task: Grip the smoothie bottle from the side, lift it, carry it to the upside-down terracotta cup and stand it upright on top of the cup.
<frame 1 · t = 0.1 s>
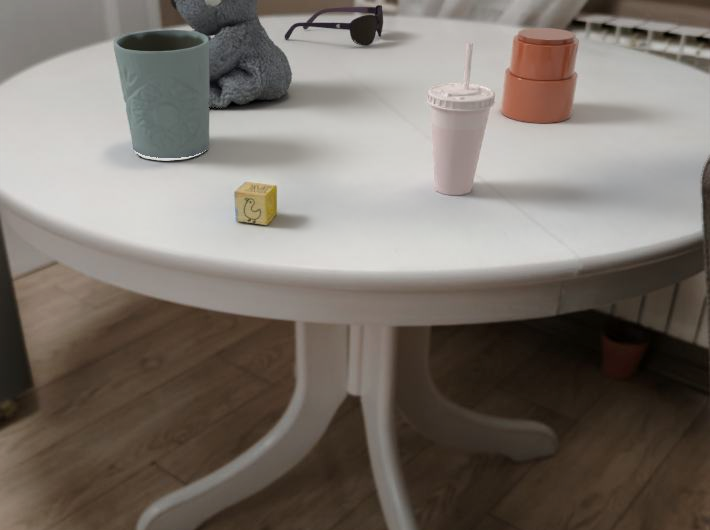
sunglasses: (334, 39, 139), on the table
alphabet block: (257, 220, 75), on the table
smoothie: (452, 190, 81), on the table
green embossed cup: (173, 151, 92), on the table
koala plush: (228, 96, 110), on the table
upturned cup: (535, 112, 103), on the table
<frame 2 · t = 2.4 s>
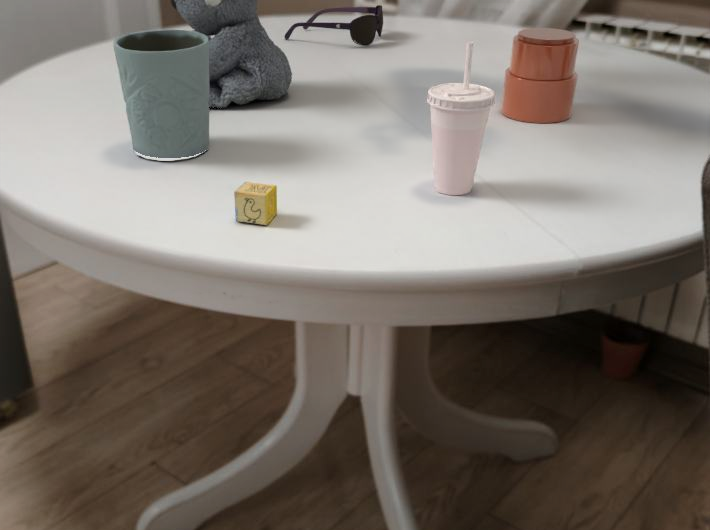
nothing on the table moved.
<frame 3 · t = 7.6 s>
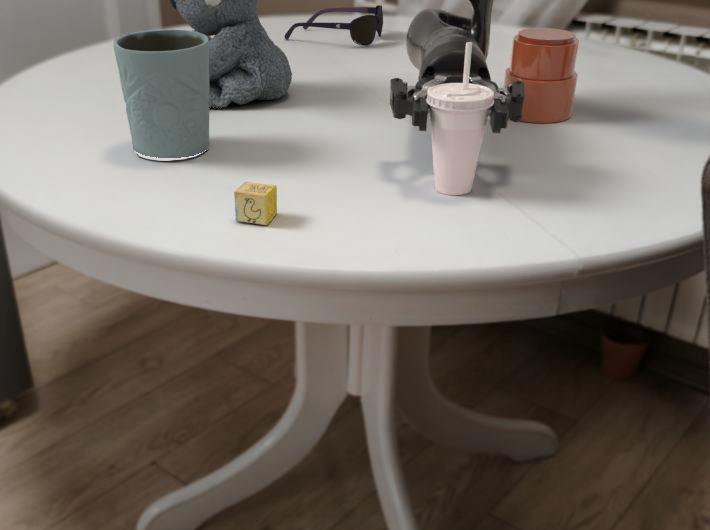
hand: (460, 121, 75), 8 cm above the table, tool horizontal, fingers closed on smoothie, 6 cm apart
smoothie: (452, 190, 81), on the table, touching gripper
everything else where it was.
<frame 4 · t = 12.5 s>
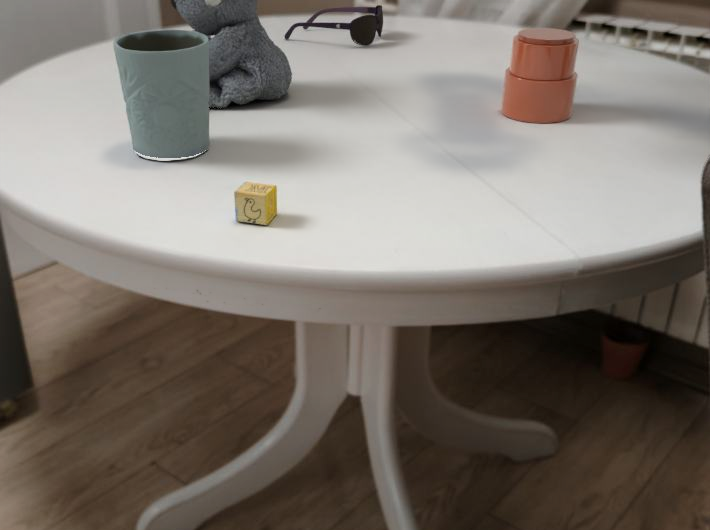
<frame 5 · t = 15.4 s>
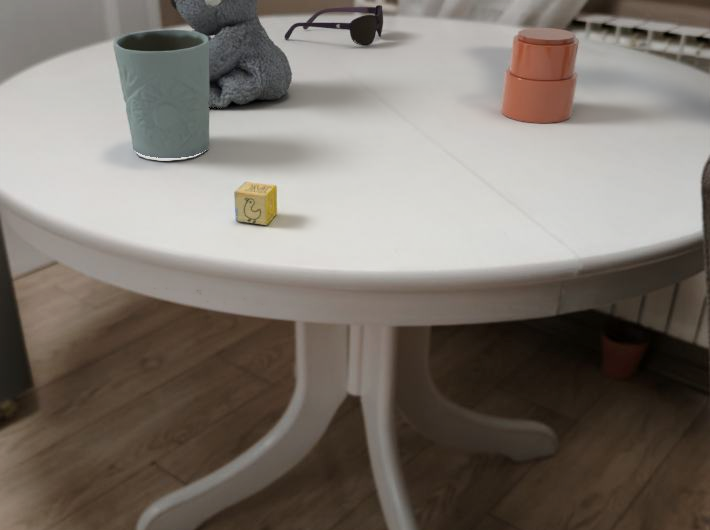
when the fingers open (17 cm above the table, at t = 17.5 s): smoothie stays where it is, resting on upturned cup.
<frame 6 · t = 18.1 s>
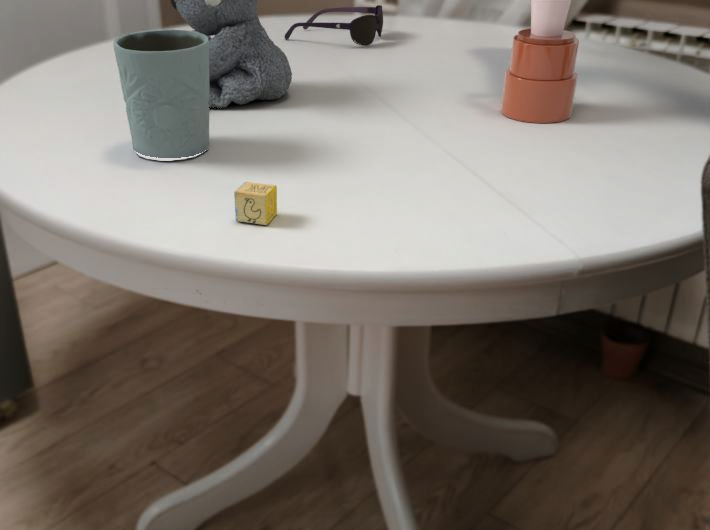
smoothie: (546, 35, 98), point 9 cm above the table, touching upturned cup
everything else where it was.
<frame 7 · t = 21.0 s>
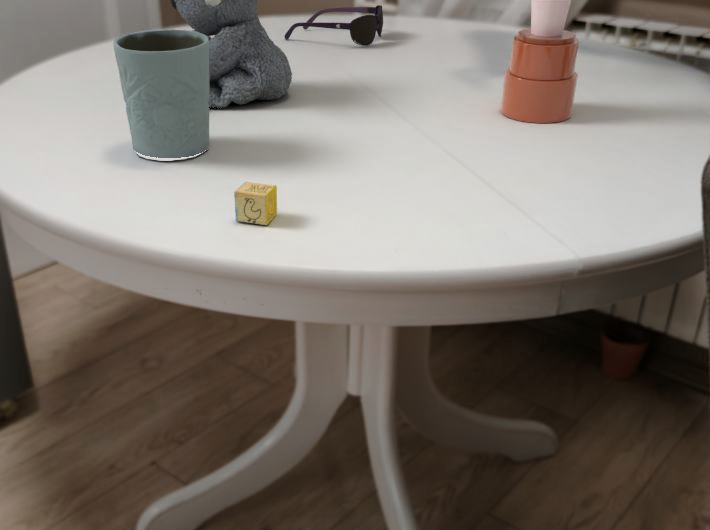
nothing on the table moved.
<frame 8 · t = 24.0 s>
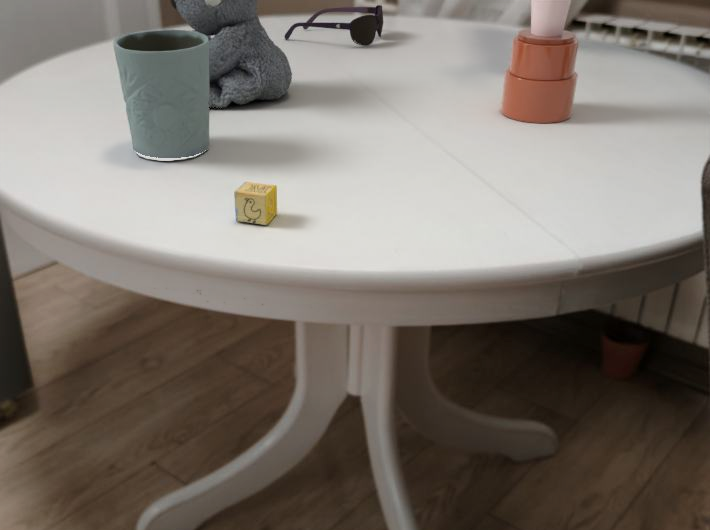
nothing on the table moved.
at the end: smoothie 0.1 cm off-centre on the upturned cup, point 9.4 cm above the upturned cup's base; smoothie tilted 0°; the gripper is holding nothing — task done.
